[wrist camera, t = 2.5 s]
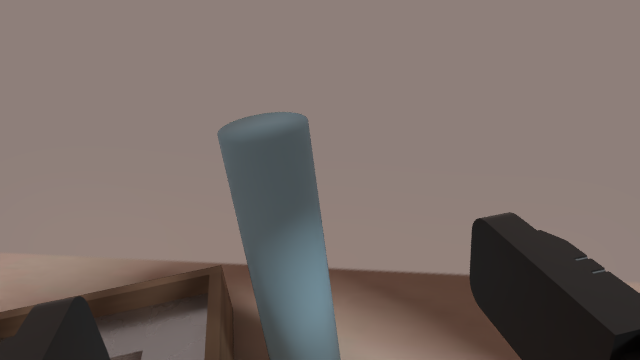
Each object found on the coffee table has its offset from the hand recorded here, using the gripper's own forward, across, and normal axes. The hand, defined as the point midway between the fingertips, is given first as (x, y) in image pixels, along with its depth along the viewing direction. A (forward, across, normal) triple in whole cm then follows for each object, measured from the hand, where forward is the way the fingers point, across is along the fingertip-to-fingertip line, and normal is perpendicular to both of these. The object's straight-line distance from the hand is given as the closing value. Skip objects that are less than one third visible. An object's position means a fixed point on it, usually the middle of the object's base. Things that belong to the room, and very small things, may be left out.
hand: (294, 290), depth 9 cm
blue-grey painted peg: (+12, 0, +16) cm, 19 cm away
